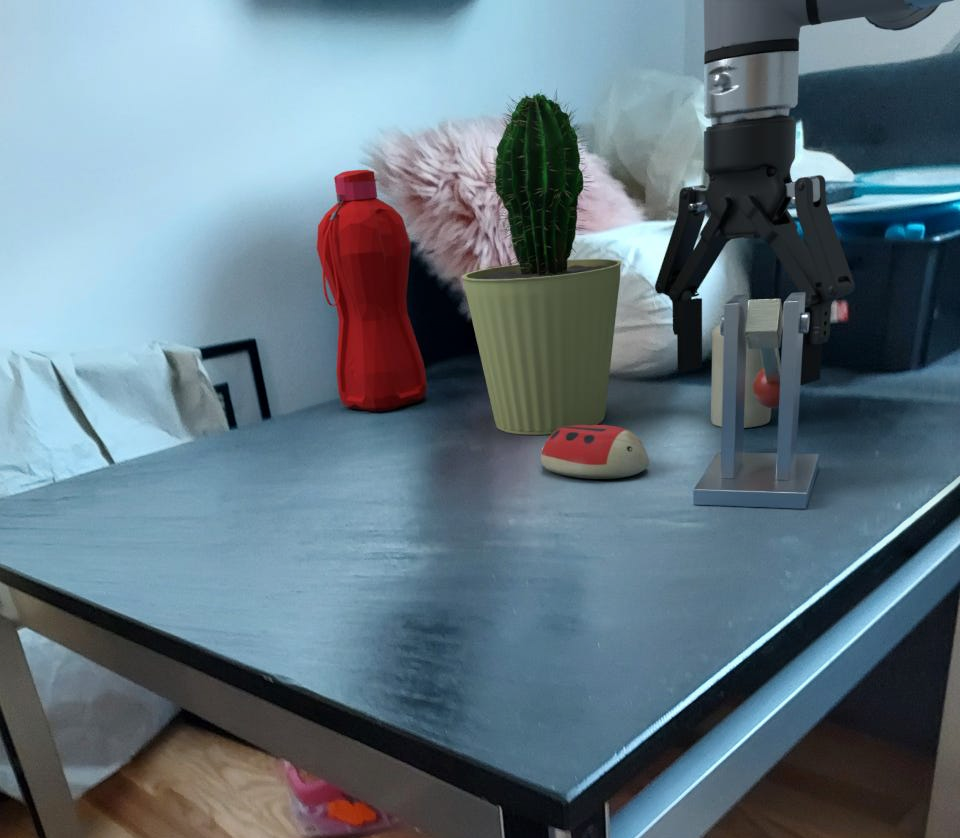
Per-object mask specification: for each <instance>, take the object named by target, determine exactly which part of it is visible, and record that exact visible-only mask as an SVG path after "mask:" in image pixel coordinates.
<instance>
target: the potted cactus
mask: <svg viewBox="0 0 960 838" xmlns="http://www.w3.org/2000/svg"><path fill="white" fill-rule="evenodd" d="M523 94H524V95H525V96H524V97H521V98H520V99H519V102H516V100H515V99H513V98H510V99H511V101H512V102H513V103H512V105H514V106H513V108H512V107H511V106H510V104H509V103H506V105H508V106H507V107H508V108H507V111H508V112H509V113H507V112H505V113H503V116H505V117H506V118H505V117H503V120H504V122H501V123H502V125H503V126H505V128H502V129H503V131H504V132H502V134H500V133H499V135H500V136H501V139H500V140H498V139H497V137H496V139H495V140H497V142H498V144H497V146H496V148H495V147H493V146H487V145H486V147H488V148H491V149H493V150H495V151H496V152H497V154H496V157H495V156H493V159H492V160H493V161H495V163H494V162H490V161H489V162H488V161H486V163H488V164H491V165H494V166H493V169H494V170H491V173H494V174H495V175H491V174H490V176H488V175H486V174H489V173H490V171H485V174H484V172H482V173H481V175H484V176H485V177H487V179H489V180H491V181H490V182H489V181H487V182H486V184H494V185H492V186H491V188H492V190H489V193H490V192H491V193H492V192H495V194H496V198H495V196H493V197H492V199H491V200H493V201H497V200H498V201H500V200H501V202H502V205H503V206H502V207H501V208H499V209H498V210H497V211H496V212H495V213H494V214H493V215H492V217H494V216H495V215H496V214H497V213H499V216H500V217H499V218H498V221H500V220H501V221H502V220H507V221H506V222H504V223H503V227H504V226H505V227H504V229H502V230H501V232H502V233H503V235H506V236H505V237H504V238H503V239H501V241H504V239H508V240H509V239H511V243H512V244H510V245H509V246H507V247H506V249H507V248H508V249H510V248H513V250H512V251H511V252H509V253H508V255H509V254H511V253H513V252H514V254H515V256H516V257H514V258H512V259H511V260H508V261H507V262H506V264H507V263H510V262H511V263H510V264H509V265H504V266H496V267H495V266H494V267H489V268H483V269H479V270H474V271H470V272H467V273H465V274H462V275H461V280H463V282H464V289H465V290H464V291H465V295H466V300H467V303H468V308H469V312H470V318H471V321H472V325H473V329H474V334H475V339H476V343H477V347H478V352H479V356H480V357H479V358H480V361H481V365H482V370H483V374H484V378H485V382H486V388H487V392H488V396H489V397H488V398H489V401H490V405H491V406H490V407H491V410H492V414H493V420H494V423H495V425H496V428H497V429H498V430H500V431H502V432H505V433H509V434H514V435H527V436H542V435H543V436H544V435H545V436H546V435H551V434H552V433H554V432H555V431H556V430H557V429H559V428H562V427H566V426H573V425H593V424H595V425H600V423H602V422H603V421H604V419H605V416H606V410H607V402H608V401H607V399H608V391H609V382H610V373H611V362H612V355H613V346H614V338H615V337H614V336H615V327H616V319H617V310H618V309H617V308H618V300H619V292H620V284H621V265H622V261H620V260H618V259H610V258H609V259H608V258H583V259H582V258H580V259H578V258H577V259H570V257H571V256H574V252H575V253H577V251H576V249H575V248H574V246H573V245H574V244H577V242H575V239H576V235H580V236H584V234H583V233H580V234H579V233H576V231H578V232H579V231H580V232H582V231H583V230H584V225H583V224H580V225H579V224H578V226H579V227H578V226H577V221H580V218H578V215H579V214H578V211H579V213H581V212H582V211H583V212H584V211H586V212H587V209H583V208H580V207H578V205H580V204H581V202H579V197H580V199H581V201H584V199H583V197H582V195H580V194H582V193H584V195H586V196H587V194H586V193H585V192H583V190H584V191H586V192H589V190H588V189H586V188H590V185H589V186H587V185H584V183H586V184H593V183H595V181H594V180H585V179H590V177H592V174H590V175H588V176H587V173H588V172H589V171H590V170H588V169H587V166H585V163H583V162H582V160H584V157H581V156H582V155H584V154H582V153H583V152H585V150H584V149H586V147H587V144H584V145H582V147H581V148H579V143H580V144H581V143H582V142H586V141H587V139H586V140H585V139H582V140H578V139H579V138H581V136H578V135H577V133H576V132H577V131H578V130H580V129H581V126H579V122H577V123H575V124H574V125H572V123H574V120H573V119H574V118H575V117H576V116H577V115H576V114H574V113H575V112H576V111H577V110H578V108H576V109H575V110H574V111H573V108H574V107H572V109H571V110H570V112H568V109H569V106H568V103H565V105H564V106H563V107H561V101H558V89H556V90H555V93H554V96H553V100H552V99H549V98H548V96H547V95H546V94H542V88H541V89H540V92H537V93H535V94H533V95H531V94H530V95H527V93H526V92H524V93H523ZM507 95H508V97H510V96H509V94H508V93H507ZM530 96H531V97H530ZM518 97H520V96H519V95H518ZM564 101H565V100H564ZM564 101H562V103H563V102H564ZM569 103H571V100H570V101H569ZM566 106H567V108H566ZM512 109H514V110H512ZM562 109H564V110H563V111H562ZM565 109H566V110H565ZM510 114H511V115H510ZM573 114H574V115H573ZM500 115H502V112H500ZM572 115H573V116H572ZM498 119H499V118H498ZM499 120H500V119H499ZM580 125H583V124H582V123H581V124H580ZM584 137H585V136H584V135H583V136H582V138H584ZM580 150H584V151H581V152H580ZM580 164H581V165H583V166H585V167H584V168H583V169H582V170H581V169H580ZM489 168H490V169H492V167H489ZM587 171H588V172H587ZM584 180H585V181H584ZM493 187H495V188H493ZM493 198H494V199H493ZM500 210H501V211H500ZM580 210H581V211H580ZM500 214H501V215H500ZM501 217H503V218H501ZM581 221H583V222H586V220H584V219H581ZM586 230H588V229H586ZM588 231H589V230H588ZM510 236H511V237H510ZM572 252H573V253H572ZM513 260H515V261H513Z"/></svg>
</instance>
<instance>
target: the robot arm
mask: <svg viewBox="0 0 960 838" xmlns="http://www.w3.org/2000/svg"><path fill="white" fill-rule="evenodd" d="M949 2H954V0H703V31H704V33H703V36H704V37H703V40H704V43H703V44H704V56H703V63H704V64H703V116H704V118H706V119H710V120H711V124H710V126H706V127H705V131H703V170H704V172H705V173H706V174H707V175H708V178H709V180H708V185H707V186H706V185H704V184H700V185H692V186H685V187H682V188H681V189H680V190H679V195H678V209H677V210H678V211H677V217H676V220H675V223H674V225H673V229H672V231H671V235H670V238H669V241H668V244H667V247H666V250H665V252H664V256H663V259H662V263H661V265H660V269H659V272H658V275H657V278H656V280H655V281H656V282H655V284H654V290H655V292H656V293H657V294H659V295H661V294H663V295H665V296H667V297H668V299H669V300H670V301H671V305H672V309H671V310H672V332H673V335H674V336H676V343H677V344H676V345H677V346H676V348H677V350H676V351H677V352H676V353H677V358H676V359H677V373H686V372H690V371H693V370H697V369H700V368H703V298H702V297H700V298H699V297H698V296H700V293H698V292H699V291H698V290H699V289H700V287H701V286H702V284H703V282H704V281H705V279H706V277H707V276H708V274H709V272H710V270H711V269H712V268H713V266H714V264H715V263H716V261H717V259H718V258H719V256H720V254H721V253H722V252H723V250H724V248H725V247H726V245H727V243H728V242H730V241H731V240H736V239H741V238H744V239H747V240H749V239H751V240H753V239H754V240H755V239H759V238H760V239H761V240H762V241H763V242H764V243H765V244H767V245H769V246H770V248H771V249H772V251H773V252H774V254H775V255H776V257H777V259H778V260H779V263H780V264H781V265H782V267H783V268H784V270H785V272H786V273H787V275H788V276H789V278H790V279H791V281H792V282H793V285H794V286H795V287H796V289H797V292H805V310H804V313H807V312H808V313H809V330H808V333H803V345H802V362H801V380H800V386H804V385H807V384H810V383H813V382H816V381H819V380H821V371H822V370H821V368H822V349H823V344H825V343H828V341H829V338H830V335H831V318H832V317H831V316H832V315H831V314H832V305H833V303H834V301H836V300H837V299H839V298H842V297H845V296H848V295H851V294H852V293H853V292H854V290H855V287H856V286H855V281H854V278H853V276H852V273H851V270H850V267H849V265H848V261H847V259H846V255H845V253H844V250H843V247H842V244H841V242H840V239H839V238H840V237H839V236H838V233H837V230H836V227H835V224H834V222H833V218H832V216H831V213H830V210H829V208H828V204H827V190H826V189H827V188H826V187H827V186H826V179H825V177H824V175H822V174H817V175H811V176H809V175H808V176H803V177H799V178H797V179H796V180H795V181H793V179H792V175H791V168H792V166H793V163H794V161H795V160H796V145H797V143H796V141H797V120H796V119H795V116H789V115H790V110H791V109H794V108H796V106H797V105H798V103H799V102H798V101H799V100H798V99H799V60H800V41H799V39H800V33H801V28H802V27H806V26H817V25H822V24H827V23H832V22H840V21H847V20H853V19H859V18H864V19H865V20H866V21H867V23H869V24H870V25H872V26H874V27H875V28H878V29H880V30H886V31H893V32H895V31H904V30H907V29H911V28H913V27H914V26H916V25H918V24H919V23H921V22H923V21H925V20H927V18H929V17H930V16H931V15H933V14H934V13H935V12H936V11H937V9H938V8H939V7H940V5H941V4H945V3H949ZM790 204H791V205H792V206H794V207H795V211H796V212H795V213H796V217H797V219H798V223H799V226H800V228H801V232H802V234H803V237H804V239H805V242H804V240H803V238H802V236H801V235H800V234H799V232H798V229H799V227H798V224H797V223H796V221H795V219H794V218H793V216H792V214H791V213H790V211H789V210H788V207H789V205H790ZM707 210H709V213H710V216H709V217H708V219H707V221H706V222H705V224H704V226H703V223H704V221H705V218H706V212H707ZM699 236H700V238H699ZM698 238H699V239H698Z"/></svg>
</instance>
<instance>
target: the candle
mask: <svg viewBox="0 0 960 838" xmlns="http://www.w3.org/2000/svg"><path fill="white" fill-rule="evenodd" d="M720 323H721V321H720V322H719V323H718V324H717V325H716V326H715V327H714V328H713V329H712V337H711V339H712V340H711V343H712V344H711V395H710V397H711V398H710V403H711V404H710V420H711V423H712V424H713V426H716V427H720V428H722V389H723V343H724V336H722V335H721V333H720ZM763 368H764V367H763V362H762V357H761V353H760V349H749V347H748V343H747V346H746V377H745V408H744V429H746V428H755V427H760V426H764V425H766V424H768V423H769V422H770V420H771V418H772V417H771V416H772V408H768V407H765V406H763V405H762V404H761V403H759V402H758V400H757V399H756V397H755V395H754V391H753V384H754V380H755V378H756V376H757V374H758V373H759V372H760V371H761V370H762V369H763Z"/></svg>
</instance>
